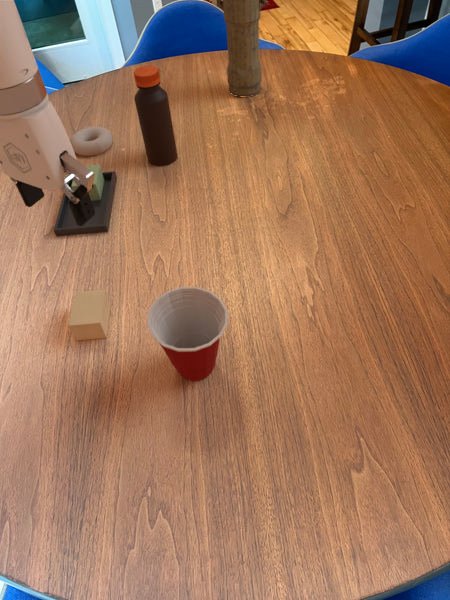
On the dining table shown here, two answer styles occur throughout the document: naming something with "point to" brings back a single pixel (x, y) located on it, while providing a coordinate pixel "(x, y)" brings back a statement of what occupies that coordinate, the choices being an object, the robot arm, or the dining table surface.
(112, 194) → the tray
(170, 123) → the bottle
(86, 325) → the tan block
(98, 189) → the sage block
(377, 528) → the dining table surface
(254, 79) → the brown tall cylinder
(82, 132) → the donut
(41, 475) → the dining table surface
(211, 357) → the plastic cup
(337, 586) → the dining table surface
